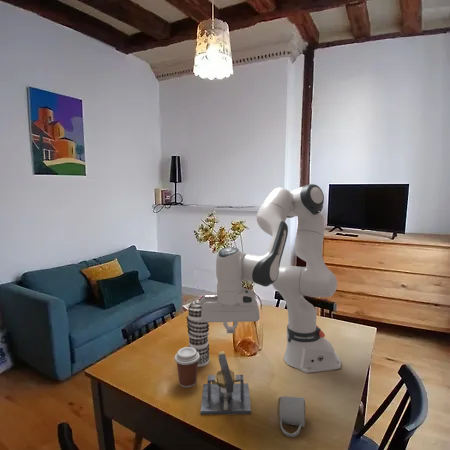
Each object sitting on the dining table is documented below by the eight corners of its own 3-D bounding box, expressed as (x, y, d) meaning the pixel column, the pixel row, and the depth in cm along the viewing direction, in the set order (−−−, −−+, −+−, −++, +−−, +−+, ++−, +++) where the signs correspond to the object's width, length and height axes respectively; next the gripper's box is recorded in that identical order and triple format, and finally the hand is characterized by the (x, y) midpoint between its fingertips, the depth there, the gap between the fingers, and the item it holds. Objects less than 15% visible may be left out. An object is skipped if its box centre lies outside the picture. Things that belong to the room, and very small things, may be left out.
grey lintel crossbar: (209, 367, 119) (208, 352, 118) (234, 365, 120) (233, 350, 120) (215, 402, 100) (214, 385, 99) (244, 399, 102) (244, 381, 101)
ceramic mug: (279, 410, 106) (279, 389, 104) (305, 414, 104) (305, 392, 102) (275, 436, 95) (275, 412, 94) (304, 441, 93) (305, 417, 92)
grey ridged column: (207, 368, 130) (205, 308, 126) (184, 366, 131) (182, 306, 128) (212, 356, 138) (211, 299, 135) (191, 354, 140) (190, 298, 137)
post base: (248, 386, 118) (248, 365, 117) (250, 414, 104) (250, 390, 103) (203, 386, 118) (203, 365, 117) (200, 414, 104) (199, 390, 103)
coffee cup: (176, 375, 125) (175, 345, 124) (200, 374, 126) (199, 344, 124) (174, 390, 116) (173, 359, 115) (200, 389, 117) (199, 357, 115)
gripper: (198, 299, 110) (200, 337, 112) (259, 297, 109) (260, 336, 112) (200, 292, 116) (202, 328, 118) (258, 291, 116) (258, 327, 118)
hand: (230, 332), depth 115 cm, fingers closed
